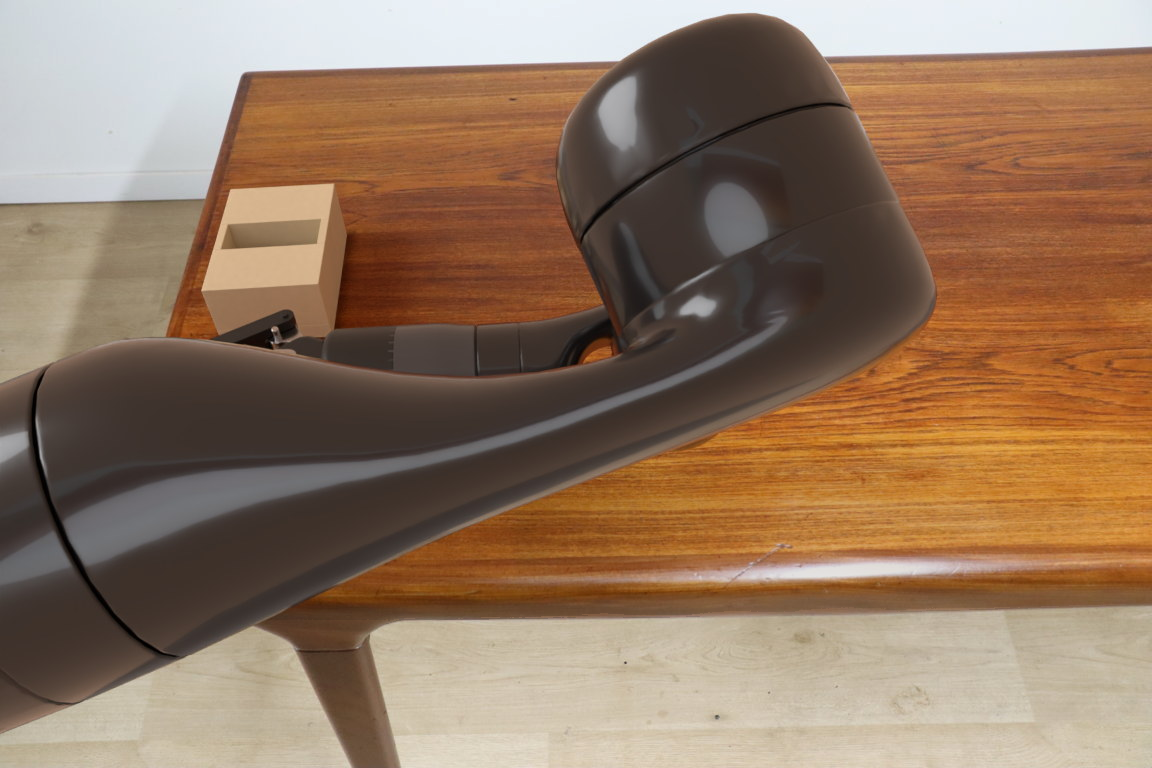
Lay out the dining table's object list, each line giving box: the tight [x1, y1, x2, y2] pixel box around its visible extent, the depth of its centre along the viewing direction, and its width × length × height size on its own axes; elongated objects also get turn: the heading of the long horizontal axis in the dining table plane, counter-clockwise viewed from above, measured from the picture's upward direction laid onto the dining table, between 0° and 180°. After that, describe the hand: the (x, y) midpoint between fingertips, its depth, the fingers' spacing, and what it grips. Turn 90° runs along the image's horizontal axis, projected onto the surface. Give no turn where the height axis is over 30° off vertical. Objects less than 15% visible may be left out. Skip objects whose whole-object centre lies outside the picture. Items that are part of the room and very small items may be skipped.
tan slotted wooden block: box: [201, 183, 348, 339], centre depth 84 cm, size 15×9×6 cm, turn 5°
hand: (127, 403), depth 59 cm, fingers closed
